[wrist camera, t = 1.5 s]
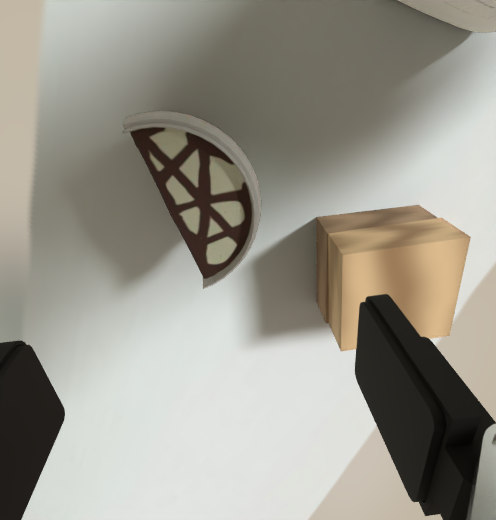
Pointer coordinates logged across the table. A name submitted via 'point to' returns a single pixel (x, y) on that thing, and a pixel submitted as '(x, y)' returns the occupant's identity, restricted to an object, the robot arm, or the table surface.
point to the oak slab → (396, 274)
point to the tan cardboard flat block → (353, 223)
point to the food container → (201, 186)
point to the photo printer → (460, 12)
